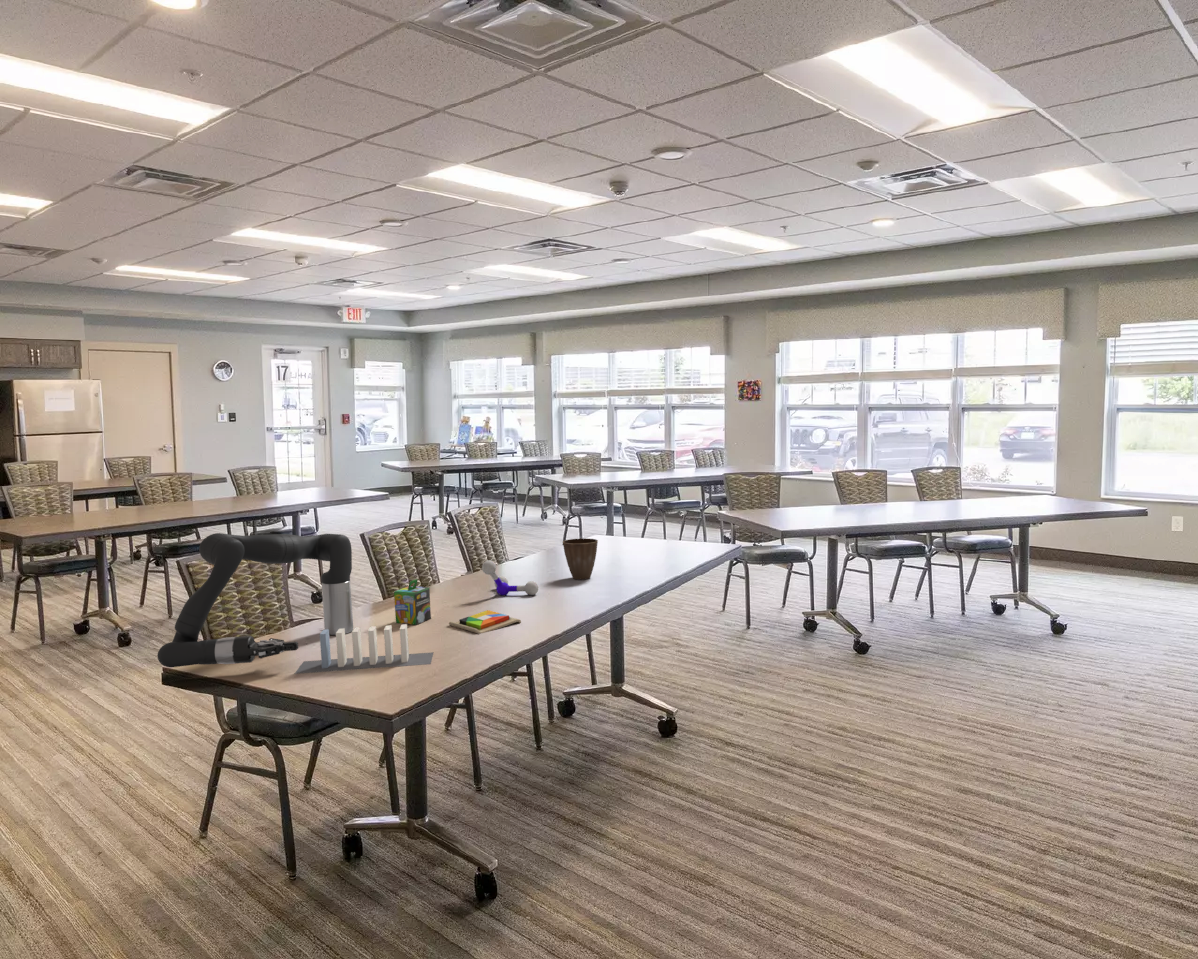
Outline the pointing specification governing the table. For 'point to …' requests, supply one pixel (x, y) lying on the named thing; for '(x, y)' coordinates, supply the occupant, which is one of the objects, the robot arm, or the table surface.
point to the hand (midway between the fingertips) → (297, 645)
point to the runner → (365, 663)
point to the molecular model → (502, 582)
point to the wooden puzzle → (484, 622)
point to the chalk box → (412, 604)
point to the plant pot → (580, 557)
